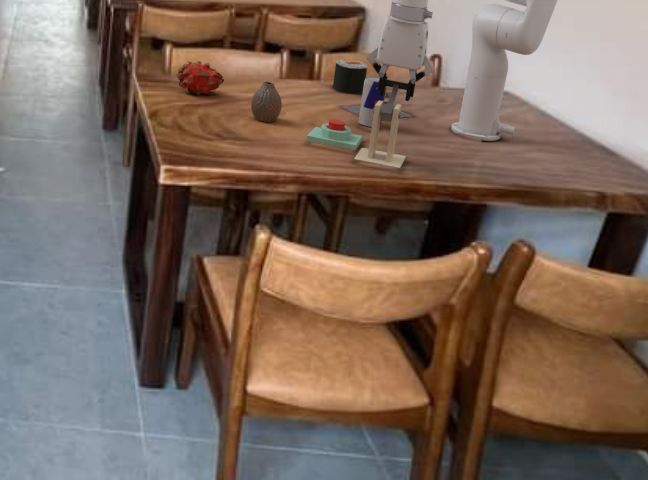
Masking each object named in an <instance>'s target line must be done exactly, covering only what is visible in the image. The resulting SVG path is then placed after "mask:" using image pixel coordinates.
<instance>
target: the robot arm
mask: <svg viewBox="0 0 648 480" xmlns="http://www.w3.org/2000/svg"><path fill="white" fill-rule="evenodd" d="M428 2H429V0H391V3H390V12H389V15H386V17H385V20H384V23H383V25H382V30H381V33H380V37H379V38H380V39H379V43H378V46H376V48H375V49H374V50H372V52H371V53H369V54H368V55H367V57H366V60H367V62H368V63H369V64H370V65H371V66H372V68H373V69H374V71H375V72H376V73H377V77H380V78H379V85H378V91H380V96H383V95H384V94H385V90H386V91H387V87H386V86H385V82H386V80H388V75H387V71H388V69H389V67H396V68H401V69H407V70H408V72H409V77H410V78H409V80H408V82H407V83H408V85H407V90H406V92H405V99H404V100H405V102H409V101H410V100H411V98H414V95H415V88H416V83H418V82H419V81H420V80H421V79H423V78H424V77H426V76H428V75H429V74H431V73H433V72H434V69H435V68H434V66H433V64H432V63H431V61H430V59H429V57H428V55H427V49H428V40H429V23H428V22H427V21H426V20H428V19H433V15H434V12H433V11H430V10H429V9H428ZM505 2H509V3H512V4H516V5H518V6H519V5H520V6H523V7H526V8H525V10H524V11H523V10H521V9H516V8H513V7H509V6H506V5H502V4H497V3H487V4H484V5H482V6H480V7H479V8H478V9H477V10H476V11H475V14H474V16H473V18H472V25H471V27H472V28H471V29H472V31H471V35H472V37H471V38H472V39H471V41H472V42H471V52H470V59H469V65H468V70H467V75H466V81H465V84H464V85H465V86H464V92H463V96H462V100H461V101H462V102H461V107H460V112H459V113H460V114H459V118H458V121H457V122H453V123H452V124H451V127H450V130H451V131H452V132H453V133H456V134H461V135H466V136H471V137H476V138H481V142H482V141H483V142H494V141H498V140H501V138H502V133H505V134H507V135H514V132H515V129H516V128H515V126H512V125H511V124H507V123H502V122H501V121H500V119H501V117H500V111H501V106H502V102H503V97H504V91H505V87H506V81H507V78H508V77H507V76H508V72H509V60H508V59H509V58H508V54H507V52H512V53H515V54H517V55H523V56H529V55H532V54H533V53H535V52H536V51H537V50H538V49H539V47H540V45H541V43H542V41H543V39H544V36H545V34H546V31H547V29H548V26H549V23H550V21H551V19H552V16H553V14H554V10H555V8H556V5H557V2H558V0H505ZM381 64H382V65H381ZM423 66H424V67H425V68H424V69H423V70H421V69H422V68H423ZM419 70H420V71H419ZM418 71H419V72H418Z"/></svg>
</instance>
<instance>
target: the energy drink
mask: <svg viewBox="0 0 648 480" xmlns="http://www.w3.org/2000/svg"><path fill="white" fill-rule="evenodd" d="M379 78H380V77H379V76H372V75H369V76H368V75H367V76H366V79H365V81H364V87H363V93H362V94H361V100H360V101H361V102H360V105H361V108H360V114H359V116H358V125H360V126H362V127H365V128H371V129H372V124H373V117H374V114H373V109H374V107H375V105H376V104H377V102H378V101H383V105H384V100H385V94H384V95H383V96H380V91H378V85H379ZM387 87H388V86H386V88H387ZM386 91H387V89H386V90H385V93H386ZM382 108H383V106H382ZM381 126H382V121H381V120H380V126H379V128H381Z"/></svg>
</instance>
